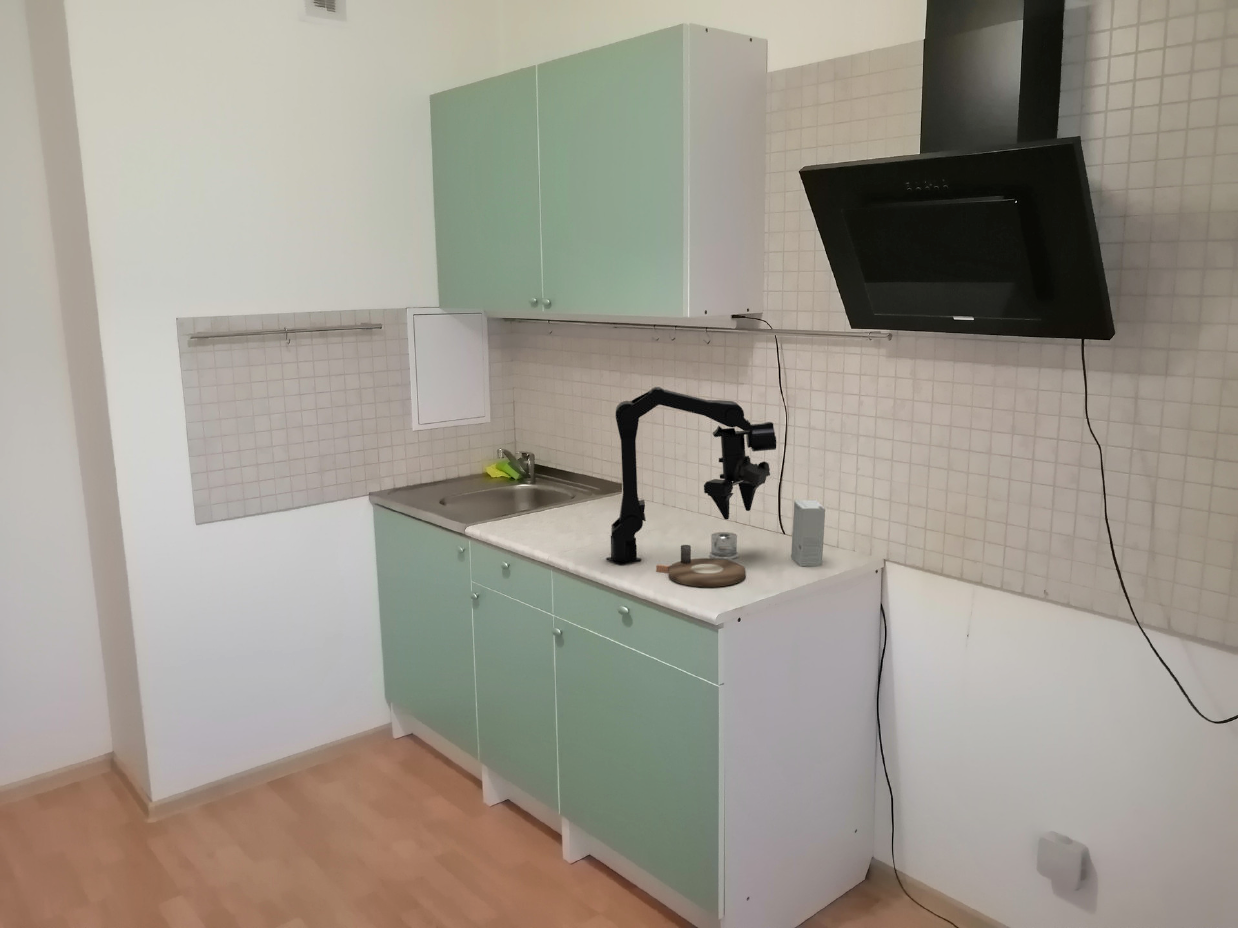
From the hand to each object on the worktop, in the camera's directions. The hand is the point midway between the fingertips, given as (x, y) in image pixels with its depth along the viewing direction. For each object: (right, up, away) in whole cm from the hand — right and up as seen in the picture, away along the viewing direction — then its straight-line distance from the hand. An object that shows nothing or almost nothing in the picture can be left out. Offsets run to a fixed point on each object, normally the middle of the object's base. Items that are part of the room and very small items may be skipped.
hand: (737, 514), depth 242 cm
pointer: (-19, -13, -8) cm, 24 cm away
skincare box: (+17, -12, -1) cm, 21 cm away
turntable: (-9, -14, -12) cm, 20 cm away
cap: (-3, -11, +5) cm, 12 cm away
